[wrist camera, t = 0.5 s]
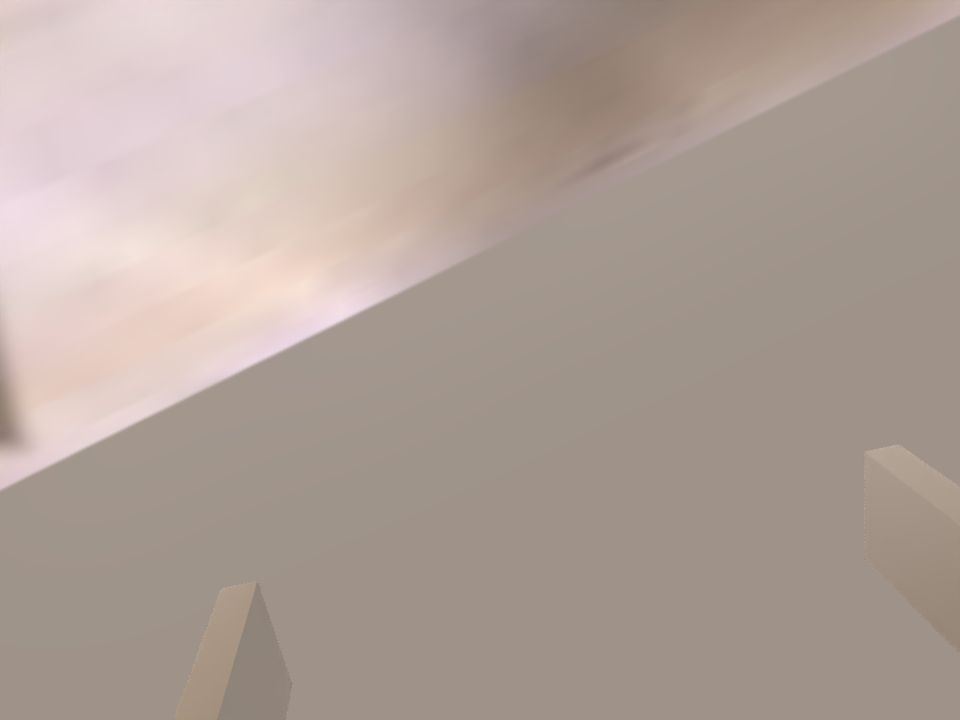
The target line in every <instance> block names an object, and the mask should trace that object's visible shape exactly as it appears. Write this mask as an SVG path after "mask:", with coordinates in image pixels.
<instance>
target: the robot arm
mask: <svg viewBox="0 0 960 720" xmlns="http://www.w3.org/2000/svg"><path fill="white" fill-rule="evenodd" d="M864 460H865V461H864V465H865V469H864V470H865V560H866V561H867V562H868V563H869V564H870V565H871V566H872V567H873V568H874V569H875V570H876V571H877V572H878V573H879V574H880V575H881V576H882V577H883V578H884V579H885V580H886V581H887V582H888V583H889V584H890V585H891V586H892V587H893V588H894V589H895V590H896V591H897V592H898V593H899V594H900V595H901V596H902V597H903V598H904V599H905V600H906V601H907V602H908V603H909V604H910V605H911V606H912V607H913V608H914V609H915V610H916V611H917V612H918V613H919V614H920V615H921V616H922V617H923V618H924V619H925V620H926V621H927V622H928V623H929V624H931V626H932V627H933V628H934V629H935V630H936V631H937V632H938V633H939V634H940V635H941V636H942V637H943V638H944V639H945V640H946V641H947V642H948V643H949V644H950V645H951V646H952V647H953V648H954V649H955V650H956V651H957V652H958V653H959V654H960V487H959V486H957V485H956V484H954V483H953V482H951V481H950V480H949V479H947V478H946V477H944V476H943V475H941V474H940V473H939V472H937V471H936V470H934V469H933V468H931V467H930V466H929V465H927V464H926V463H924V462H923V461H921V460H920V459H918V458H917V457H916V456H914V455H913V454H911V453H910V452H909V451H907V450H906V449H904V448H903V447H901V446H900V445H895V446H890V447H885V448H881V449H876V450H871V451H867V452H864ZM291 688H292V682H291V679H290V676H289V673H288V670H287V667H286V665H285V661H284V658H283V655H282V652H281V649H280V646H279V643H278V640H277V637H276V634H275V631H274V628H273V625H272V622H271V619H270V616H269V613H268V611H267V607H266V604H265V601H264V598H263V596H262V593H261V589H260V586H259V583H258V581H255V582H250V583H245V584H240V585H236V586H231V587H226V588H222V589H221V590H220V593H219V596H218V599H217V602H216V604H215V607H214V610H213V613H212V615H211V619H210V621H209V624H208V626H207V629H206V632H205V635H204V637H203V640H202V643H201V646H200V649H199V651H198V654H197V657H196V660H195V663H194V665H193V668H192V671H191V673H190V676H189V679H188V682H187V684H186V687H185V690H184V693H183V696H182V698H181V701H180V704H179V707H178V710H177V713H176V715H175V718H174V720H286V715H287V710H288V704H289V698H290V693H291Z"/></svg>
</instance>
